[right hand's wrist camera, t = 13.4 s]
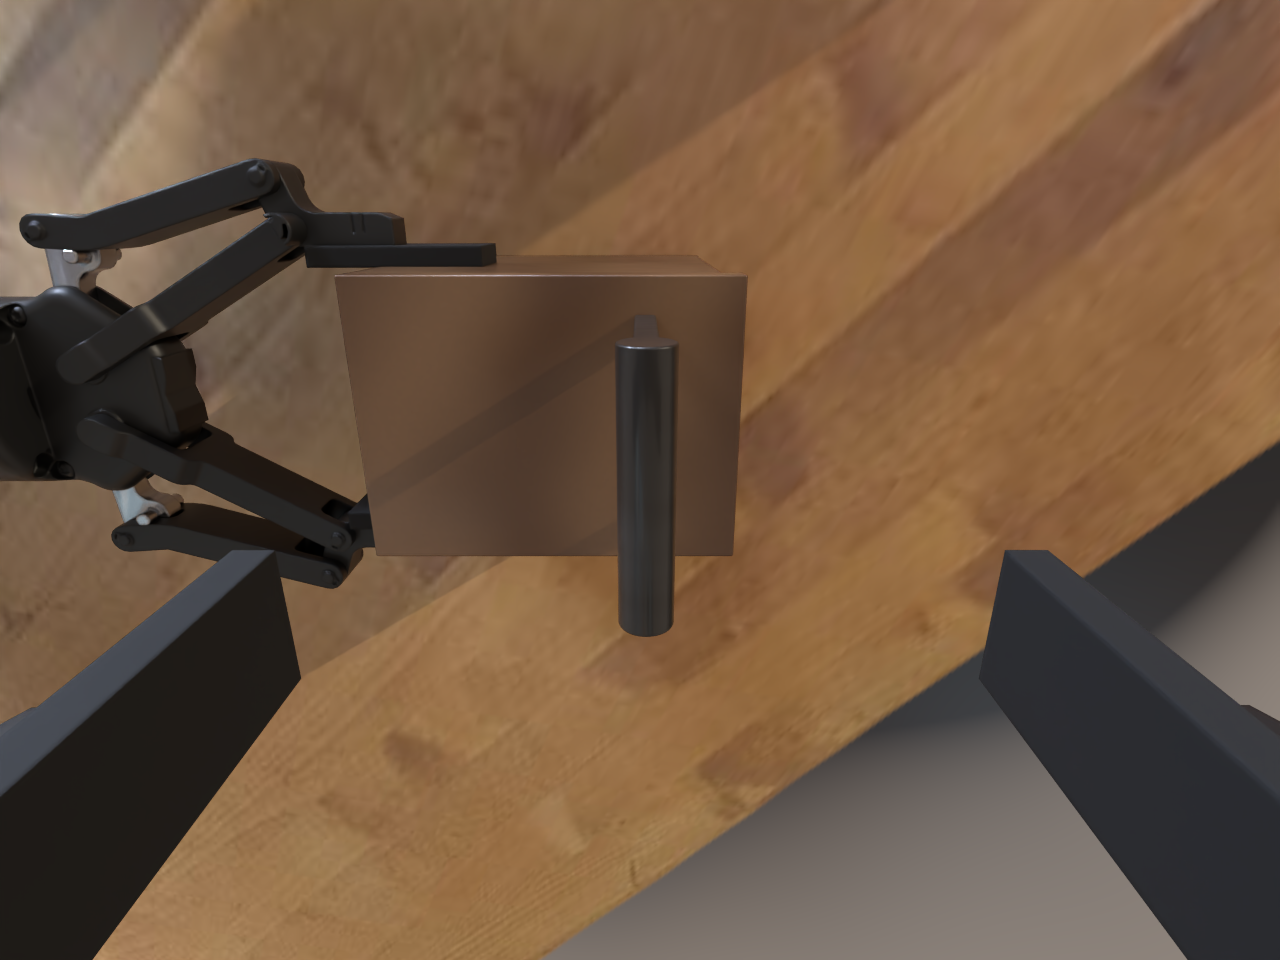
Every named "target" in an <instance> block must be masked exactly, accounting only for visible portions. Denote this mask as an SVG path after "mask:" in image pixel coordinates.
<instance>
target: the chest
mask: <svg viewBox="0 0 1280 960" xmlns="http://www.w3.org/2000/svg"><path fill="white" fill-rule="evenodd" d="M496 258H497V262H496V263H493V264H490V265H487V266H483V267H377V268H371V269H366V270H361V271H355V272H350V273H721V272H720V271H718V270H717V269H715V268H714V267H712V266H711V265H709V264H708V263H706V262H705V261H704V260H702V259H701V258H699V257H698V256H496Z"/></svg>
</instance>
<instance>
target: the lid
mask: <svg viewBox="0 0 1280 960" xmlns="http://www.w3.org/2000/svg"><path fill="white" fill-rule="evenodd" d="M747 279H748V276H747V275H745V274H744V273H344V274H339V275H335V283H336V290H337V296H338V303H339V310H340V316H341V323H342V329H343V336H344V343H345V349H346V356H347V362H348V369H349V376H350V382H351V389H352V395H353V402H354V409H355V415H356V422H357V428H358V435H359V442H360V448H361V455H362V461H363V468H364V475H365V481H366V488H367V494H368V501H369V508H370V514H371V521H372V527H373V534H374V541H375V547H376V554H377V556H618V615H619V624H620V626H621V628H622V629H623V630H624V631H626V632H627V633H629V634H632V635H636V636H642V637H651V636H657V635H661V634H663V633H665V632H667V631H668V630H669V629H670V628H671V627H672V625H673V622H674V578H675V556H732V555H733V544H734V525H735V507H736V488H737V469H738V450H739V431H740V412H741V393H742V374H743V355H744V336H745V317H746V298H747Z"/></svg>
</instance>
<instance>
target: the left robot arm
mask: <svg viewBox="0 0 1280 960" xmlns="http://www.w3.org/2000/svg"><path fill="white" fill-rule="evenodd" d="M304 184H305V181H304V176H303V174H302V173H301V171H300V170H299V169H298V168H297V167H296V166H294V165H292V164H289V163H283V162H276V161H270V160H263V159H257V158H254V159H248V160H245V161H242V162H239V163H236V164H233V165H230V166H227V167H224V168H221V169H218V170H215V171H212V172H209V173H206V174H203V175H201V176H198V177H195V178H192V179H189V180H186V181H183V182H180V183H177V184H174V185H171V186H168V187H165V188H162V189H159V190H156V191H153V192H151V193H148V194H145V195H142V196H139V197H136V198H133V199H130V200H127V201H124V202H121V203H118V204H115V205H112V206H109V207H106V208H103V209H101V210H98V211H95V212H92V213H89V214H26V215H25V216H24V217H22V218H21V221H20V223H19V226H20V232H21V234H22V237H23V238H24V239H25V240H26V241H27V243H29V244H30V245H32V246H34V247H37V248H43V249H45V252H46V256H47V261H48V265H49V270H50V274H51V278H52V283H53V287H51V288H49V289H47V290H45V291H44V292H43V293H42V294H40V295H38V296H36V297H0V481H58V480H83V481H87V482H90V483H93V484H95V485H97V486H99V487H102V488H104V489H107V490H112V491H113V494H114V496H115V499H116V502H117V505H118V507H119V510H120V513H121V516H122V518H123V521H124V523H123V524H122V525H120V526H118V527H117V528H115V529H114V530H113V532H112V535H111V536H112V541H113V542H114V544H115V545H116V546H117V547H118V548H119V549H121V550H123V551H129V552H134V551H150V550H166V549H169V550H173V551H177V552H181V553H185V554H189V555H193V556H197V557H201V558H205V559H209V560H214V561H219V560H221V559H222V558H223V557H224V556H226V555H227V554H228V553H229V552H231V551H232V550H275V553H276V558H277V563H278V568H279V573H280V577H283V578H287V579H291V580H295V581H300V582H304V583H308V584H312V585H316V586H320V587H324V588H330V589H334V588H337V587H339V586H340V585H341V584H342V583H343V581H344V580H345V579H346V578H347V576H348V575H349V574H350V573H351V572H352V570H353V569H354V568H355V567H356V565H357V564H358V563H359V562H360V561H361V559H362V557H363V550H362V548H365V547H375V541H374V534H373V527H372V521H371V514H370V508H369V501H368V494H366V495H365V496H364V497H363V498H362V499H361V500H360V501H359V502H358V503H356V502H354V501H352V500H350V499H347V498H345V497H343V496H341V495H339V494H337V493H335V492H333V491H331V490H329V489H327V488H325V487H323V486H321V485H319V484H317V483H315V482H313V481H311V480H309V479H307V478H305V477H303V476H300V475H298V474H296V473H294V472H292V471H290V470H288V469H286V468H284V467H282V466H280V465H278V464H276V463H274V462H272V461H270V460H268V459H266V458H264V457H262V456H260V455H258V454H256V453H254V452H251V451H249V450H247V449H245V448H243V447H241V446H239V445H237V444H236V443H235V442H234V439H233V437H232V436H231V435H229V434H228V433H226V432H224V431H222V430H220V429H218V428H216V427H214V426H211V425H209V424H207V423H205V421H207V420H208V416H207V412H206V407H205V403H204V401H203V399H202V397H201V395H200V393H199V391H198V389H197V387H196V384H195V382H196V364H195V360H194V355H193V351H192V349H185V347H184V345H183V344H182V342H181V341H182V340H184V339H185V338H187V337H188V336H190V335H191V334H193V333H194V332H196V331H197V330H199V329H200V328H202V327H203V326H205V325H206V324H207V323H208V320H209V319H211V318H212V317H214V316H215V315H217V314H218V313H220V312H221V311H223V310H224V309H226V308H227V307H229V306H230V305H232V304H233V303H234V302H236V301H237V300H239V299H240V298H242V297H243V296H245V295H246V294H248V293H249V292H251V291H252V290H254V289H255V288H257V287H258V286H260V285H261V284H263V283H264V282H266V281H267V280H269V279H270V278H272V277H273V276H275V275H276V274H278V273H279V272H281V271H282V270H284V269H285V268H287V267H288V266H289V265H291V264H292V263H294V262H295V261H297V260H298V259H300V258H301V257H303V256H304V255H305V258H306V264H307V268H377V267H483V266H487V265H490V264H493V263H496V262H497V258H496V244H495V243H440V244H407V242H406V233H405V224H404V218H402V217H400V216H397V215H395V214H392V213H382V212H331V213H328V212H324V211H321V210H320V209H318V208H317V207H315V206H314V205H313V204H312V202H311V201H310V199H309V197H308V195H307V193H306V191H305V189H304ZM259 208H263V210H264V212H265V214H264V215H263V216H264V217H265V218H268V219H267V220H265V221H264V222H263V223H261V224H260V225H258V226H257V227H255V228H254V229H252V230H251V231H250V232H248V233H247V234H245V235H244V236H242V237H241V238H239V239H238V240H237V241H235V242H234V243H232V244H231V245H229V246H228V247H226V248H225V249H224V250H222V251H221V252H219V253H218V254H216V255H215V256H213V257H212V258H211V259H209V260H208V261H206V262H205V263H203V264H202V265H200V266H199V267H198V268H196V269H195V270H193V271H192V272H190V273H189V274H187V275H186V276H185V277H183V278H182V279H180V280H179V281H177V282H176V283H175V284H173V285H172V286H170V287H169V288H167V289H166V290H164V291H163V292H162V293H160V294H159V295H157V296H156V297H154V298H153V299H151V300H150V301H148V302H146V303H144V304H141V305H138V306H136V307H134V308H133V307H131V306H130V305H128V304H126V303H125V302H123V301H122V300H120V299H118V298H117V297H115V296H114V295H112V294H110V293H109V292H107V291H106V290H104V289H102V288H100V287H98V286H96V277H97V275H98V274H99V273H100V272H101V271H103V270H107V269H111V268H112V267H114V266H115V264H116V262H117V261H118V260H120V259H121V257H122V253H121V250H120V249H121V248H134V247H142V246H146V245H150V244H153V243H156V242H159V241H162V240H165V239H168V238H171V237H174V236H177V235H180V234H183V233H186V232H189V231H192V230H195V229H198V228H201V227H204V226H208V225H211V224H214V223H217V222H220V221H223V220H226V219H229V218H232V217H235V216H238V215H241V214H244V213H247V212H250V211H253V210H256V209H259ZM187 447H189V448H187ZM185 448H187V449H185ZM154 474H156V475H158V476H160V477H162V478H164V479H166V480H168V481H170V482H173V483H176V484H180V485H195V486H198V487H200V488H202V489H204V490H206V491H208V492H210V493H213V494H215V495H217V496H219V497H221V498H223V499H225V500H227V501H229V502H232V503H234V504H236V505H238V506H240V507H242V508H244V509H246V510H248V511H251V512H253V513H255V514H257V515H259V516H261V517H263V518H265V519H263V518H259V517H255V516H251V515H247V514H243V513H239V512H235V511H231V510H227V509H223V508H219V507H215V506H211V505H206V504H198V503H184V499H183V497H182V496H181V495H179V494H173V495H170V494H166V493H161V492H159V491H156V490H155V489H154V488H153V487H152V486H151V485H150V483H149V481H148V479H149V478H150V477H152V476H153V475H154Z"/></svg>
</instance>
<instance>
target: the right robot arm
mask: <svg viewBox="0 0 1280 960" xmlns="http://www.w3.org/2000/svg"><path fill="white" fill-rule="evenodd" d="M300 679H301V675H300V670H299V665H298V661H297V656H296V651H295V646H294V641H293V636H292V631H291V626H290V622H289V617H288V612H287V607H286V602H285V597H284V592H283V587H282V582H281V578H280V573H279V568H278V563H277V558H276V553H275V550H232V551H231V552H229V553H228V554H227V555H226V556H224V557H223V558H222V559H221V560H219V561H218V562H217V563H216V564H215V565H213V566H212V567H211V568H210V569H208V570H207V571H206V572H205V573H203V574H202V575H201V576H200V577H198V578H197V579H196V580H195V581H193V582H192V583H191V584H190V585H188V586H187V587H186V588H185V589H183V590H182V591H181V592H180V593H178V594H177V595H176V596H175V597H173V598H172V599H171V600H170V601H169V602H167V603H166V604H165V605H164V606H162V607H161V608H160V609H159V610H157V611H156V612H155V613H154V614H152V615H151V616H150V617H149V618H147V619H146V620H145V621H144V622H142V623H141V624H140V625H139V626H137V627H136V628H135V629H134V630H132V631H131V632H130V633H129V634H128V635H126V636H125V637H124V638H123V639H121V640H120V641H119V642H118V643H116V644H115V645H114V646H113V647H111V648H110V649H109V650H108V651H106V652H105V653H104V654H103V655H101V656H100V657H99V658H98V659H96V660H95V661H94V662H93V663H91V664H90V665H89V666H88V667H86V668H85V669H84V670H83V671H82V672H80V673H79V674H78V675H77V676H75V677H74V678H73V679H72V680H70V681H69V682H68V683H67V684H65V685H64V686H63V687H62V688H60V689H59V690H58V691H57V692H55V693H54V694H53V695H52V696H50V697H49V698H48V699H47V700H45V701H44V702H43V703H42V704H40V705H39V706H38V707H37V708H30V709H28V710H26V711H24V712H22V713H21V714H19V715H17V716H15V717H13V718H11V719H9V720H8V721H6V722H4V723H2V724H0V960H93V958H94V957H95V956H96V954H97V953H98V951H99V950H100V949H101V947H102V946H103V945H104V943H105V942H106V941H107V939H108V938H109V937H110V935H111V934H112V933H113V931H114V930H115V929H116V927H117V926H118V925H119V923H120V922H121V921H122V919H123V918H124V916H125V915H126V914H127V912H128V911H129V910H130V908H131V907H132V906H133V904H134V903H135V902H136V900H137V899H138V898H139V896H140V895H141V894H142V892H143V891H144V890H145V888H146V887H147V885H148V884H149V883H150V881H151V880H152V879H153V877H154V876H155V875H156V873H157V872H158V871H159V869H160V868H161V867H162V865H163V864H164V863H165V861H166V860H167V859H168V857H169V856H170V855H171V853H172V852H173V850H174V849H175V848H176V846H177V845H178V844H179V842H180V841H181V840H182V838H183V837H184V836H185V834H186V833H187V832H188V830H189V829H190V828H191V826H192V825H193V824H194V822H195V821H196V819H197V818H198V817H199V815H200V814H201V813H202V811H203V810H204V809H205V807H206V806H207V805H208V803H209V802H210V801H211V799H212V798H213V797H214V795H215V794H216V793H217V791H218V790H219V789H220V787H221V786H222V784H223V783H224V782H225V780H226V779H227V778H228V776H229V775H230V774H231V772H232V771H233V770H234V768H235V767H236V766H237V764H238V763H239V762H240V760H241V759H242V758H243V756H244V755H245V753H246V752H247V751H248V749H249V748H250V747H251V745H252V744H253V743H254V741H255V740H256V739H257V737H258V736H259V735H260V733H261V732H262V731H263V729H264V728H265V727H266V725H267V724H268V723H269V721H270V720H271V718H272V717H273V716H274V714H275V713H276V712H277V710H278V709H279V708H280V706H281V705H282V704H283V702H284V701H285V700H286V698H287V697H288V696H289V694H290V693H291V692H292V690H293V689H294V687H295V686H296V685H297V683H298V682H299V681H300ZM979 679H980V681H981V682H982V683H983V685H984V686H985V688H986V689H987V690H988V692H989V693H990V694H991V696H992V697H993V698H994V700H995V701H996V702H997V704H998V705H999V706H1000V708H1001V709H1002V710H1003V712H1004V713H1005V714H1006V716H1007V717H1008V718H1009V720H1010V721H1011V723H1012V724H1013V725H1014V726H1015V728H1016V729H1017V731H1018V732H1019V733H1020V735H1021V736H1022V737H1023V739H1024V740H1025V741H1026V743H1027V744H1028V745H1029V747H1030V748H1031V749H1032V751H1033V752H1034V753H1035V755H1036V756H1037V757H1038V759H1039V760H1040V761H1041V763H1042V764H1043V766H1044V767H1045V768H1046V770H1047V771H1048V772H1049V774H1050V775H1051V776H1052V778H1053V779H1054V780H1055V782H1056V783H1057V784H1058V786H1059V787H1060V788H1061V790H1062V791H1063V793H1064V794H1065V795H1066V797H1067V798H1068V799H1069V801H1070V802H1071V803H1072V805H1073V806H1074V807H1075V809H1076V810H1077V811H1078V813H1079V814H1080V815H1081V817H1082V818H1083V819H1084V821H1085V822H1086V823H1087V825H1088V826H1089V828H1090V829H1091V830H1092V832H1093V833H1094V834H1095V836H1096V837H1097V838H1098V840H1099V841H1100V842H1101V844H1102V845H1103V846H1104V848H1105V849H1106V850H1107V852H1108V853H1109V854H1110V856H1111V857H1112V858H1113V860H1114V861H1115V863H1116V864H1117V865H1118V867H1119V868H1120V869H1121V871H1122V872H1123V873H1124V875H1125V876H1126V877H1127V879H1128V880H1129V881H1130V883H1131V884H1132V885H1133V887H1134V888H1135V890H1136V891H1137V892H1138V894H1139V895H1140V896H1141V898H1142V899H1143V900H1144V902H1145V903H1146V904H1147V906H1148V907H1149V908H1150V910H1151V911H1152V912H1153V914H1154V915H1155V916H1156V918H1157V919H1158V920H1159V922H1160V923H1161V925H1162V926H1163V927H1164V929H1165V930H1166V931H1167V933H1168V934H1169V935H1170V937H1171V938H1172V939H1173V941H1174V942H1175V943H1176V945H1177V946H1178V947H1179V949H1180V950H1181V951H1182V953H1183V954H1184V955H1185V957H1186V958H1187V960H1280V721H1278V720H1276V719H1274V718H1272V717H1271V716H1269V715H1267V714H1265V713H1263V712H1261V711H1259V710H1258V709H1256V708H1254V707H1252V706H1250V705H1239V704H1238V703H1237V702H1236V701H1235V700H1233V699H1232V698H1231V697H1230V696H1228V695H1227V694H1226V693H1225V692H1223V691H1222V690H1221V689H1220V688H1218V687H1217V686H1216V685H1215V684H1213V683H1212V682H1211V681H1210V680H1208V679H1207V678H1206V677H1205V676H1203V675H1202V674H1201V673H1200V672H1198V671H1197V670H1196V669H1195V668H1194V667H1192V666H1191V665H1190V664H1189V663H1187V662H1186V661H1185V660H1184V659H1182V658H1181V657H1180V656H1179V655H1177V654H1176V653H1175V652H1174V651H1172V650H1171V649H1170V648H1169V647H1167V646H1166V645H1165V644H1164V643H1162V642H1161V641H1160V640H1159V639H1157V638H1156V637H1155V636H1154V635H1152V634H1151V633H1150V632H1149V631H1148V630H1146V629H1145V628H1144V627H1143V626H1141V625H1140V624H1139V623H1138V622H1136V621H1135V620H1134V619H1133V618H1131V617H1130V616H1129V615H1127V614H1126V613H1125V612H1124V611H1123V610H1121V609H1120V608H1119V607H1118V606H1116V605H1115V604H1114V603H1113V602H1111V601H1110V600H1109V599H1108V598H1107V597H1105V596H1104V595H1103V594H1102V593H1100V592H1099V591H1098V590H1097V589H1095V588H1094V587H1093V586H1092V585H1090V584H1089V583H1088V582H1087V581H1085V580H1084V579H1083V578H1082V577H1080V576H1079V575H1078V574H1077V573H1075V572H1074V571H1073V570H1072V569H1070V568H1069V567H1068V566H1067V565H1065V564H1064V563H1063V562H1062V561H1061V560H1059V559H1058V558H1057V557H1056V556H1054V555H1053V554H1052V553H1051V552H1049V551H1048V550H1005V553H1004V558H1003V563H1002V568H1001V573H1000V578H999V582H998V587H997V592H996V597H995V602H994V607H993V612H992V617H991V622H990V626H989V631H988V636H987V641H986V646H985V651H984V656H983V661H982V666H981V670H980V675H979Z"/></svg>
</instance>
